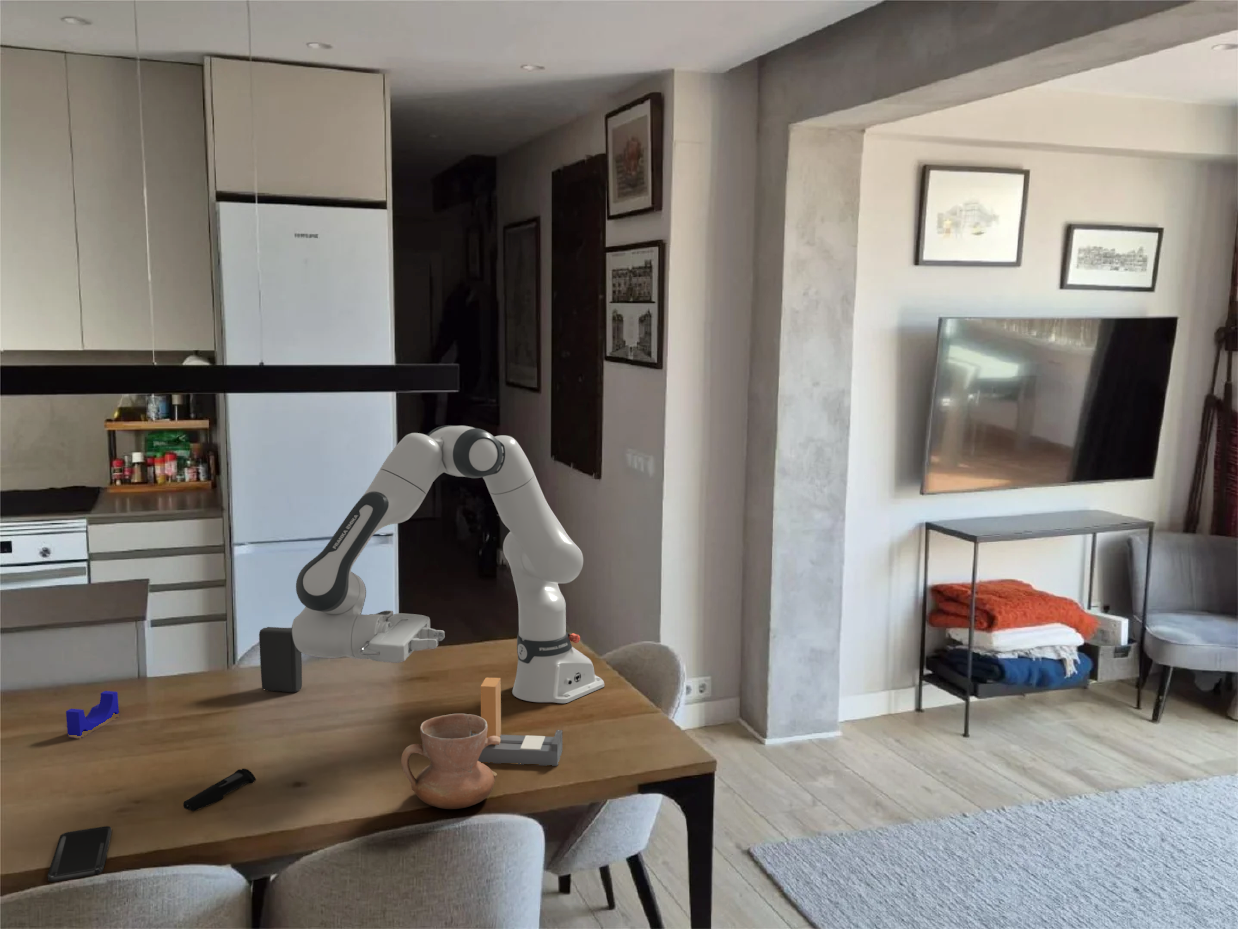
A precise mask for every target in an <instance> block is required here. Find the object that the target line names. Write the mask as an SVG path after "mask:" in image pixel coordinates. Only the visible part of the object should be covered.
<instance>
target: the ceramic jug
mask: <svg viewBox="0 0 1238 929" xmlns="http://www.w3.org/2000/svg"><path fill="white" fill-rule="evenodd" d="M487 730H488V726H487V722H486V720H485V719H483V718H481V716H479V715H476V714H470V713H469V714H467V713H452V714H451V713H450V714H446V715H445V714H444V715H439V716H434V717H431V718H429V719H426V720H424V721H423V722H421V724H420V727H419V731H420V732H419V733H420V738H421V742H422V744H419V743H412V744H410V745H408V746H406V747H405V749H404V750H403V751H402V754H401V758H400V760H401V762H400V763H401V768H402V771H403V773H404V775H405V776H406V778H407V780H408V781H409V782H410V784H411V785H410V786H411V790H412V792H414V793H415V795H416V796H417V797H418V798H419V799H420V800H421V801H422V802H424V803H425V804H426V805H429V806H431V807H435V808H436V809H437V808H439V809H441V810H443V809H444V810H458V809H465V808H468V807H471V806H474V805H477V804H479V803H481V802H483V801H484V800H485V799H486V798H487V797H489V796H490V794H491V793H492V790H493V788H494V785H495V782H496V779H497V777H498V774H497V772H495V771H493V770H492V768H490V767H489V766H487V765H486V763H481V762H479V761H478V759H479V757H480V754H481V752H482V750H483V749H484V748H485V747H486V746H488V745H490V744H497V745H499V744H500V740H501V739H500V737H498V736H490V737H488V738H486V736H487ZM471 731H472V732H475V733H476V734H477V735H474V736H471ZM412 754H419V755H421V756H424V757H425V758H427V759H429V762H430V764H429V765H427V766H426V767H424V768H423V769H422V770H421V771H420V772H419V773H418V775H417V776H416V777H415V776H414V774H413V772H412V770H411V768H410V757H411V755H412Z"/></svg>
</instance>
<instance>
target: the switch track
mask: <svg viewBox="0 0 1238 929" xmlns="http://www.w3.org/2000/svg"><path fill="white" fill-rule="evenodd" d="M477 734H478V733H473V731H471V736H474V735H477ZM500 739H501V740H500V744H499V745H497V744H490V745H488V746H486V747H485V748H484V749H483V750H482V752H481V754H480V757H479V759H478V761H479V762H488V763H487V764H491V763H490V762H493V763H492V764H501V763H518V764H517V765H524V764H539V765H538V766H547V765H552V766H551V767H558V765H559V763H558V762H560V760H561V757H560V756H562V754H563V730H562V729H556V730H555V733H554V736H545V735H527V734H526V735H520V734H519V735H518V734H517V735H516V734H501V736H500ZM520 763H521V764H520Z"/></svg>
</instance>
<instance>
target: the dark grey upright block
mask: <svg viewBox="0 0 1238 929" xmlns="http://www.w3.org/2000/svg"><path fill="white" fill-rule="evenodd" d="M259 630H260V631H259V634H258V637H259V638H258V640H259V641H258V642H259V643H258V644H259V659H260V661H259V662H260V676H261V678H260V679H261V688H262V690H263V689H265V690H264V691H266V690H268V691H267V692H278V691H282V692H281V693H296V692H299V691H300V690H301V689H302V687H303V667H302V666H303V663H302V658H303V656H302V653H301V652H300V651H299V650H298V649H297V648H296V646H295V644H294V641H293V638H292V627H277V626H276V627H275V626H266V627H263V628H261V629H259Z"/></svg>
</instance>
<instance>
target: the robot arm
mask: <svg viewBox="0 0 1238 929" xmlns="http://www.w3.org/2000/svg"><path fill="white" fill-rule="evenodd" d="M443 473H445V474H447V475H450V476H453V477H454V476H455V477H462V478H463V477H465V478H471V479H479V478H482V479H483V480H484V482H485V485H486V487H487V490H488V493H489V494H490V497H491V499H492V502H493V503H494V504H493V505H494V506H495V509H496V511H497V513H498V516H499V518H500V520H501V522H502V523H503V524H504V525H505V527H506V528H507V529H508V530H509V532H508V533H507V535H506V536H505V538H504V540H503V543H502V551H503V554H504V557H505V559H506V561H507V562H508V564H509V568H510V571H511V572H510V573H511V575H512V580H513V584H514V587H515V593H516V596H517V598H516V599H517V604H518V605H517V606H518V607H517V608H518V633H517V634H516V636H517V637H516V652H517V667H516V674H515V680H514V683H513V688H512V691H511V692H512V695H513V697H516V698H517V699H519V700H523V701H526V702H533V703H554V704H555V703H557V704H566V703H567V704H568V703H570V702H572V701H575V700H576V699H579V698H582V697H584V696H586V695H588V694H590V693H591V694H592V693H593V692H595V691H598V690H601V689H602V688H604V687H605V681H604V680H603V679H602V677H599V676H598V675H596V674H595V673H596V672H595V668H594V665H593V661H592V659H591V658H589V657H588V656H586V655H585V654H584V653H582V652H581V651H579V650H578V649H576V648H575V647H574V646H573V645H572V643H574V644H578V643H580V641H581V636H580V634H576V633H570V632H567V631H566V630H567V628H566V626H567V623H566V622H567V619H566V618H567V612H566V609H567V607H566V605H567V604H566V600H565V597H564V595H563V593H562V592H561V589H560V586H559V584H569V583H571V582H573V581H574V580H575V579H577V578H578V577H579V575H580V574H581V571H582V570H583V566H584V555H583V552H582V550H581V549H580V548H579V546H578V545H577V544H576V543H575V542H574V540H572V538H571V537H570V536H569V535H568V533H567V532H566V530H565V528H564V527H563V525H562V524H561V522H560V521H559V519H558V517H557V516H556V515H555V513H554V511H553V510H552V509H551V507H550V505H549V504H548V502H547V499H546V497H545V495H544V493H543V490H542V488H541V485H540V484H539V481H538V479H537V477H536V473H535V472H534V469H533V467H532V465H531V463H530V461H529V459H528V457H527V455H526V453H525V452H524V450H523V449H522V447H521V445H520V444H519V442H518V441H517V439H515V438H514V437H513V436H511V435H496V436H494V435H493V434H491V433H490V432H488V431H486V430H484V429H481V428H478V427H473V426H468V425H451V424H450V425H449V424H448V425H447V424H446V425H441V426H438V427H436V428H434V429H432V430H430V431H429V432H427V433H426V434H424V433H420V432H419V433H418V432H411V433H408V434H405V436H404V437H403V438H402V439H400V441H399V442H398V443H397V444H396V446H395V447H394V448H393V449H392V450H391V452H389V454H388V456H387V458H385V460H384V461H383V463H382V464H381V467H380V468H379V470H378V472H377V474H376V475H375V477H374V478H373V480H372V482H370V484H369V486H368V488H367V490H366V491H365V492H364V493H363V495H362V496H361V498H359V500H358V501H357V502H356V504H354V506H353V507H352V509H351V510H350V511H349V513H348V514H347V516H346V517H345V518H344V520H343V521H342V523H341V524H340V525H339V527H338V529H336V532H335V533H334V534H333V536H332V537H331V539H330V540H329V541H328V543H327V544H326V546H325V547H324V549H323V550H321V552H319V553H318V555H317V556H315V557H314V558H312V559H311V560H310V561H309V562H308V563H306V564H305V565H304V566H303V567H302V569H301V570H300V571H299V573H298V576H297V577H296V583H295V592H296V595H297V597H298V600H299V601H300V603H301V604H302V605H304V608H303V610H302V611H301V612H300V613H299V614H298V615H297V616H295V617H294V618H293V621H292V624H291V628H292V638H293V641H294V644H295V646H296V648H297V649H298V650H299V651H300V652H301V654H304V655H307V656H311V657H318V658H331V659H337V658H341V657H348V658H352V659H358V660H370V661H375V662H383V663H392V664H398V663H403V662H405V661H406V660H407V659H408V658H409V657H410V656H411V655H412V653H413V652H414V651H422V650H427V649H432V650H433V649H436V648H438V646H439V642H442V641H443V640H444V639H445V637H446V636H445V633H446V632H445V631H444V630H441V629H435V628H431V619H430V617H429V616H426V615H422V614H414V613H402V612H401V613H399V612H398V613H394V610H388V609H387V610H383V611H379V612H377V613H370V614H362V612H363V609H364V605H365V602H366V597H367V588H366V584H365V583H364V581H363V579H362V578H361V577H360V576H359V575H357V574H356V573H354V572H353V571H352V568H353V566H354V564H355V563H356V561H357V559H358V558H359V557H360V555H361V553H362V552H363V551H364V549H365V548H366V546H367V545H368V543H369V541H370V540H371V539H372V538H373V536H374V535H375V534H376V533H377V532H378V531H380V530H381V529H383V528H384V527H387V526H390V525H396V524H401V523H404V522H406V521H408V520H409V519H410V518H412V516H413V515H414V514H415V513H416V512H417V510H419V508H420V506H421V504H422V503H423V501H424V500H425V498H426V496H427V494H428V492H429V490H430V489H431V487H432V485H433V482H435V480H436V479H437V478H438V477H439V476H441V475H442V474H443Z"/></svg>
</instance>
